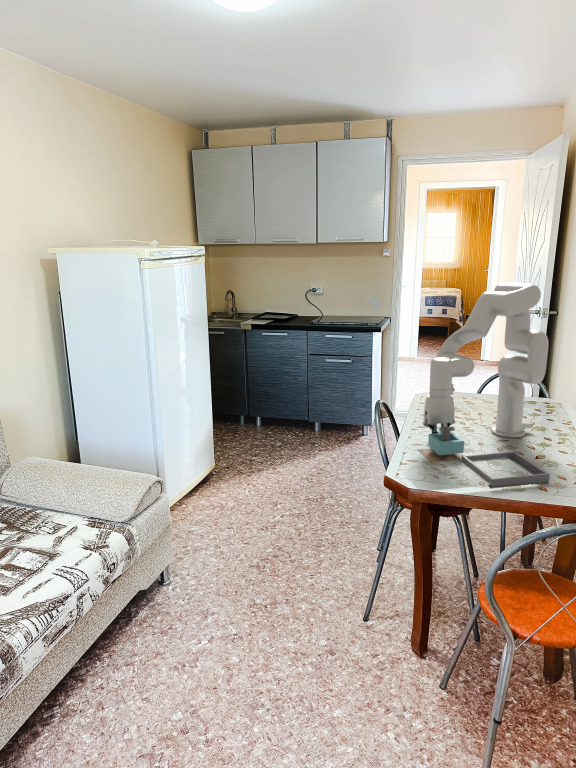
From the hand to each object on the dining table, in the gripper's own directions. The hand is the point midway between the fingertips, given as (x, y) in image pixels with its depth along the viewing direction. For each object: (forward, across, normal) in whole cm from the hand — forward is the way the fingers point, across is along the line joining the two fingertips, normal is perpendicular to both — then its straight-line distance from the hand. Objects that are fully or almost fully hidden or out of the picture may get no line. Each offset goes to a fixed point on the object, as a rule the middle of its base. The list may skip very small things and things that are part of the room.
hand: (438, 440), depth 192 cm
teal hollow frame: (+1, 0, +4) cm, 4 cm away
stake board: (+5, +2, +6) cm, 8 cm away
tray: (+5, -13, +22) cm, 26 cm away
